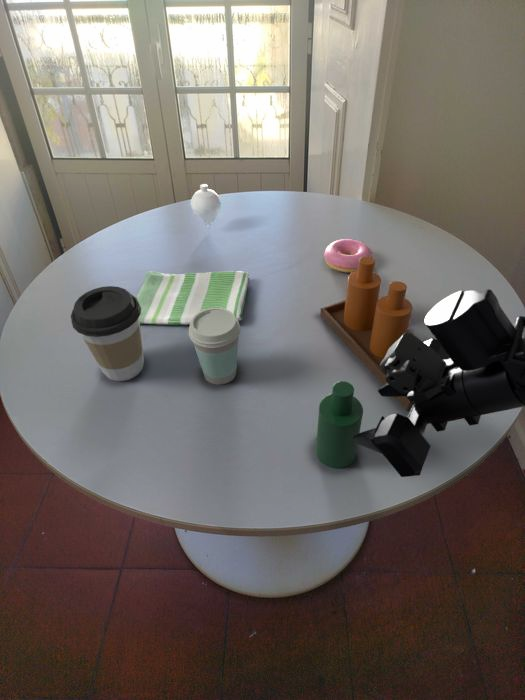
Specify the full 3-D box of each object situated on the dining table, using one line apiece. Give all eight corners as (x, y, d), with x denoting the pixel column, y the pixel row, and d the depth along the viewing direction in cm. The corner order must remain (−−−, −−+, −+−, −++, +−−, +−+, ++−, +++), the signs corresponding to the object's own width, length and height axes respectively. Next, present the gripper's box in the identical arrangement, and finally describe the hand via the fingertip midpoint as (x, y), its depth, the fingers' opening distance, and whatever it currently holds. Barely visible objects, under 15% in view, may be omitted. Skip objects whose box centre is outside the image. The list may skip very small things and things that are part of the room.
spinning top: (194, 223, 127) (188, 180, 119) (222, 221, 127) (218, 178, 119) (194, 237, 121) (188, 192, 113) (223, 235, 122) (219, 190, 114)
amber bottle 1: (379, 319, 93) (390, 258, 84) (364, 335, 90) (373, 273, 81) (354, 308, 96) (361, 248, 87) (337, 322, 93) (343, 262, 84)
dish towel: (149, 277, 108) (147, 267, 106) (250, 278, 106) (249, 268, 105) (127, 326, 95) (124, 315, 93) (241, 329, 93) (240, 318, 91)
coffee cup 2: (227, 350, 89) (221, 299, 81) (253, 376, 83) (249, 324, 75) (187, 370, 85) (177, 318, 77) (212, 398, 80) (203, 345, 72)
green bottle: (363, 449, 71) (375, 386, 62) (341, 475, 68) (350, 413, 59) (330, 429, 74) (336, 366, 65) (308, 453, 71) (311, 391, 62)
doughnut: (315, 256, 112) (316, 241, 110) (356, 246, 115) (358, 231, 112) (337, 280, 105) (338, 264, 102) (379, 269, 108) (382, 253, 105)
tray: (460, 388, 80) (463, 380, 78) (406, 411, 76) (409, 402, 75) (366, 300, 99) (367, 292, 98) (320, 315, 96) (320, 307, 94)
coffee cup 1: (114, 341, 92) (93, 277, 82) (166, 354, 89) (150, 288, 78) (79, 381, 84) (51, 316, 74) (134, 396, 81) (112, 330, 71)
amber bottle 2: (408, 346, 87) (423, 284, 78) (392, 364, 84) (406, 301, 74) (379, 333, 90) (390, 271, 81) (363, 350, 87) (372, 287, 77)
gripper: (457, 286, 55) (358, 329, 67) (408, 389, 43) (299, 420, 55) (507, 357, 57) (403, 387, 69) (473, 473, 45) (355, 485, 57)
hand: (368, 415), depth 62 cm, fingers open, 9 cm apart
